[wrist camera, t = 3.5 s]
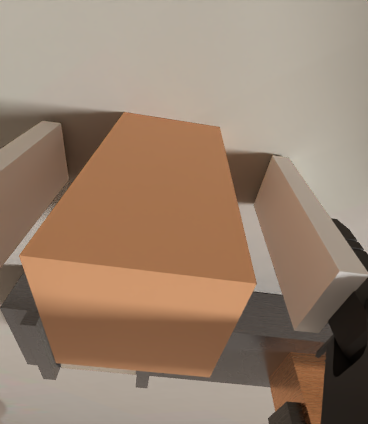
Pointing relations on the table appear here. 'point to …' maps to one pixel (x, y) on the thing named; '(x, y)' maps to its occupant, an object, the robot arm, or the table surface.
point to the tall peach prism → (144, 253)
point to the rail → (229, 360)
